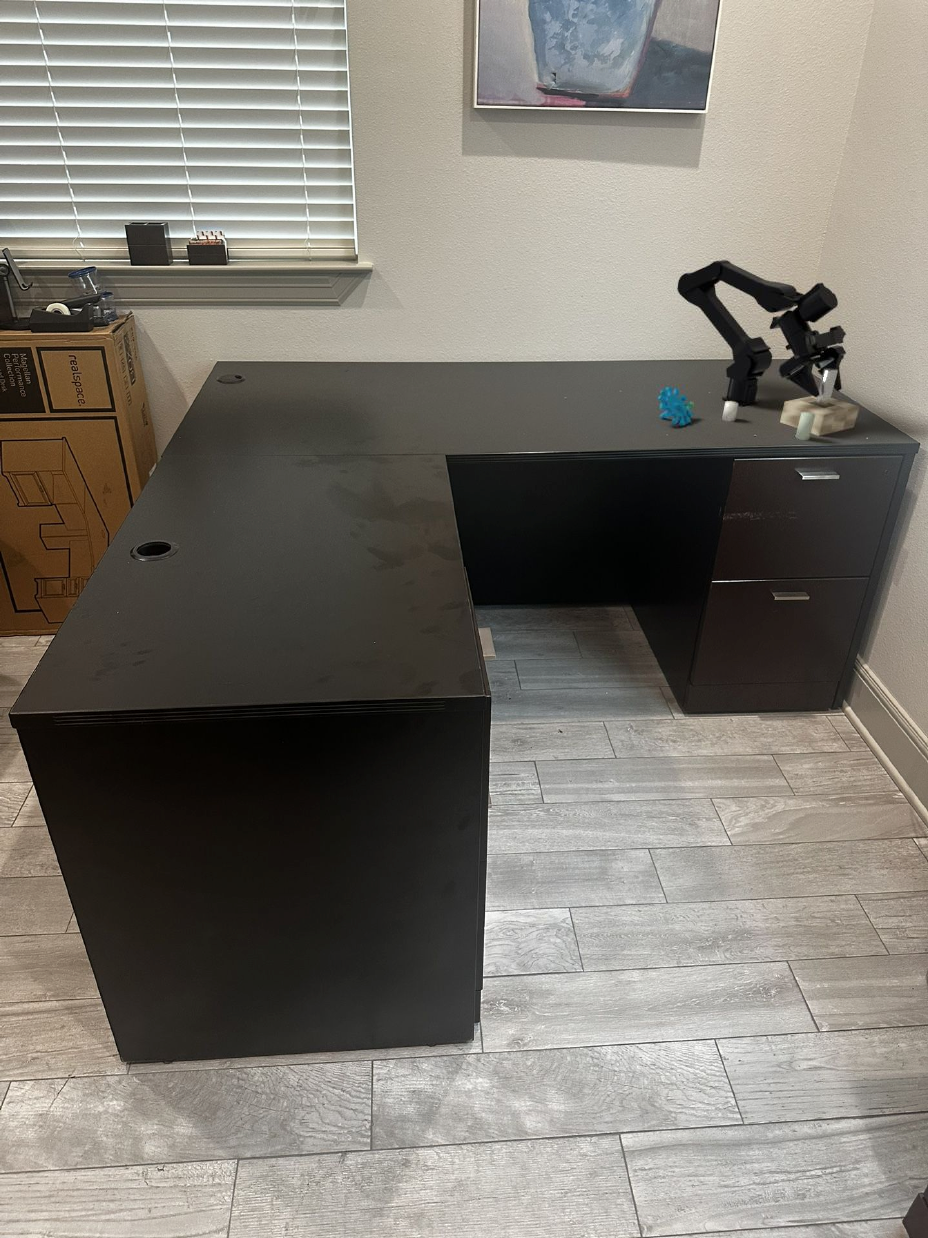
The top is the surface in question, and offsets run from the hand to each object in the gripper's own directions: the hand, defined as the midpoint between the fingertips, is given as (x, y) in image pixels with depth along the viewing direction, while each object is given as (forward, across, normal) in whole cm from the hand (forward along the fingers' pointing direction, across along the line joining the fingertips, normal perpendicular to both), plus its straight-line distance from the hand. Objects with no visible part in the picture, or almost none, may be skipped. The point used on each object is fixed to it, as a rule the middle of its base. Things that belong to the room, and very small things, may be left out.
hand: (828, 392), depth 193 cm
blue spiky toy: (-9, -27, +21) cm, 36 cm away
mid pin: (+7, -11, +4) cm, 14 cm away
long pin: (+5, 0, +6) cm, 8 cm away
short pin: (-5, -15, +16) cm, 23 cm away
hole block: (+5, 0, +6) cm, 8 cm away
